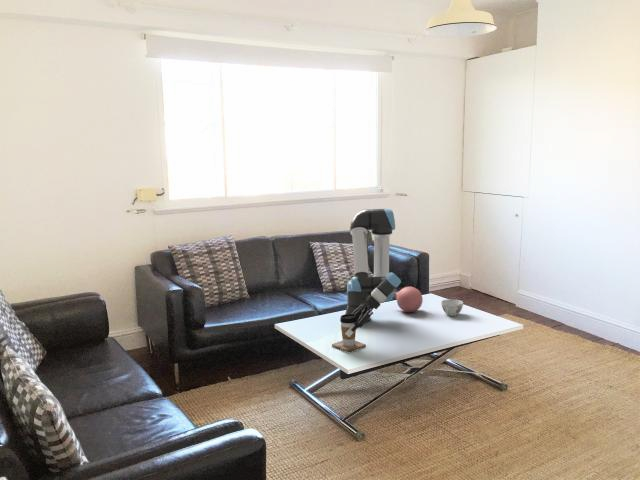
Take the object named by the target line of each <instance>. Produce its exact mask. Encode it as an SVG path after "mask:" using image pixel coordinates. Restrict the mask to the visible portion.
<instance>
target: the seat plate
mask: <svg viewBox="0 0 640 480" xmlns="http://www.w3.org/2000/svg"><path fill="white" fill-rule="evenodd" d="M332 346H333V348H334V347H336V348H335V349H337V348H338V349H337V350H340V349H341V351H342V350H343V352H345V351H346V352H345V353H347V352H350V353H353V352H355V351H358V350H361V349H363V348H366V343H364V342H360V341H359V340H358V341H357V340H355V345H354V346H344V345H343V340H340V341H337V342H335V343H332V344H331V347H332ZM360 348H361V349H360ZM357 349H358V350H357ZM352 351H353V352H352Z"/></svg>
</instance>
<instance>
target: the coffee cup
mask: <svg viewBox="0 0 640 480" xmlns="http://www.w3.org/2000/svg"><path fill="white" fill-rule="evenodd" d="M339 321H340V330H341V338H342V341H343V345H344V346H354V345H355V341H356V332H357V329H356V330H355V331H354V333H353V334H352V335H351V336H350V337H348V336H347V335H346V334H345V333H346V332H347V331H348V330H349V328H350V327H351V326H352V325H353V324H354V323H356V322H357V317H356V315H355V314H345V313H344V314H342V315H341V316H340V318H339Z"/></svg>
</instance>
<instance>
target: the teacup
mask: <svg viewBox="0 0 640 480" xmlns="http://www.w3.org/2000/svg"><path fill="white" fill-rule="evenodd" d="M440 303H441V308H442V310H443V312H444V313H445V314H446V315H447V316H448V317H457V316H458V315H459V313H461V311H462V309H463V307H464V301H462V300H460V299H444V300H441V302H440Z"/></svg>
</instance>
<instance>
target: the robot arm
mask: <svg viewBox="0 0 640 480" xmlns="http://www.w3.org/2000/svg"><path fill="white" fill-rule="evenodd" d="M395 229H396V220H395V215H394V212H393V210H392V209H390V208H371V209H369V208H365V209H362V210H360V211H359V212H357V213H356V214H355V215H354V217H353V218H352V220H351V222H350V226H349V233H350V235H351V237H352V253H353V254H352V255H353V275H354V276H353V277H351V278H350V281H348V282H347V283H346V284H347V285H346V286H347V287H346V288H347V289H346V294H347V297H346V300H347V302H346V303H347V305H346V310H345V313H344V315H345V314H355V315H356V317H357V322H356V323H354V324H353V325H352V326H351V327H350V328H349V330H348V331H347V332H346V333H345V334H346V335H347V336H348V337H350V336H351V335H352V334H353V333H354V331H355V330H356V331H357V329H358V328H360V329H361V328H362V327H363V326H364V325H365V324H366V323H368V322H370V321H371V316H372V315H373V314H374V312H373V310H374V309H375V310H378V308H380V306H381V304H383V303H386V302H391V301H392V300H393V299H394V297H393V294H394V292H395V290H396V289H397V288H398V287H399V285H400V284H401V283H402V280H401V279H400V278H399V277H398V276H397V275H396V273H394V272H392V271H391V272H390V236H391V235H392V234H393V231H395ZM369 231H371V234H372V235H373V276H370V274H369V272H370V271H369V257H368V245H367V243H368V242H367V234H368V233H369Z"/></svg>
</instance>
